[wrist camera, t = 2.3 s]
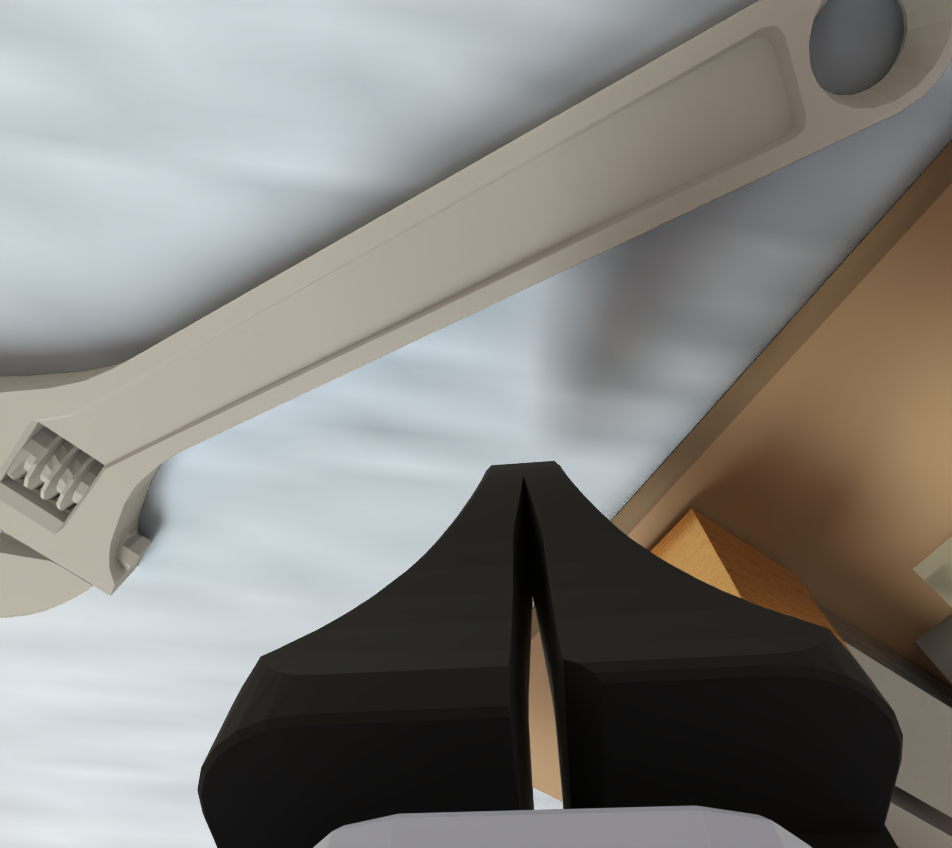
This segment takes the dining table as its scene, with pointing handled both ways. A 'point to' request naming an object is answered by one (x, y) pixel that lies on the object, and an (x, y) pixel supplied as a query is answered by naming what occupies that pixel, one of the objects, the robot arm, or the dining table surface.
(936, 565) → the tray
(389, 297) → the adjustable wrench
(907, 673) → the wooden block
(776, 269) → the dining table surface
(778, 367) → the holder
